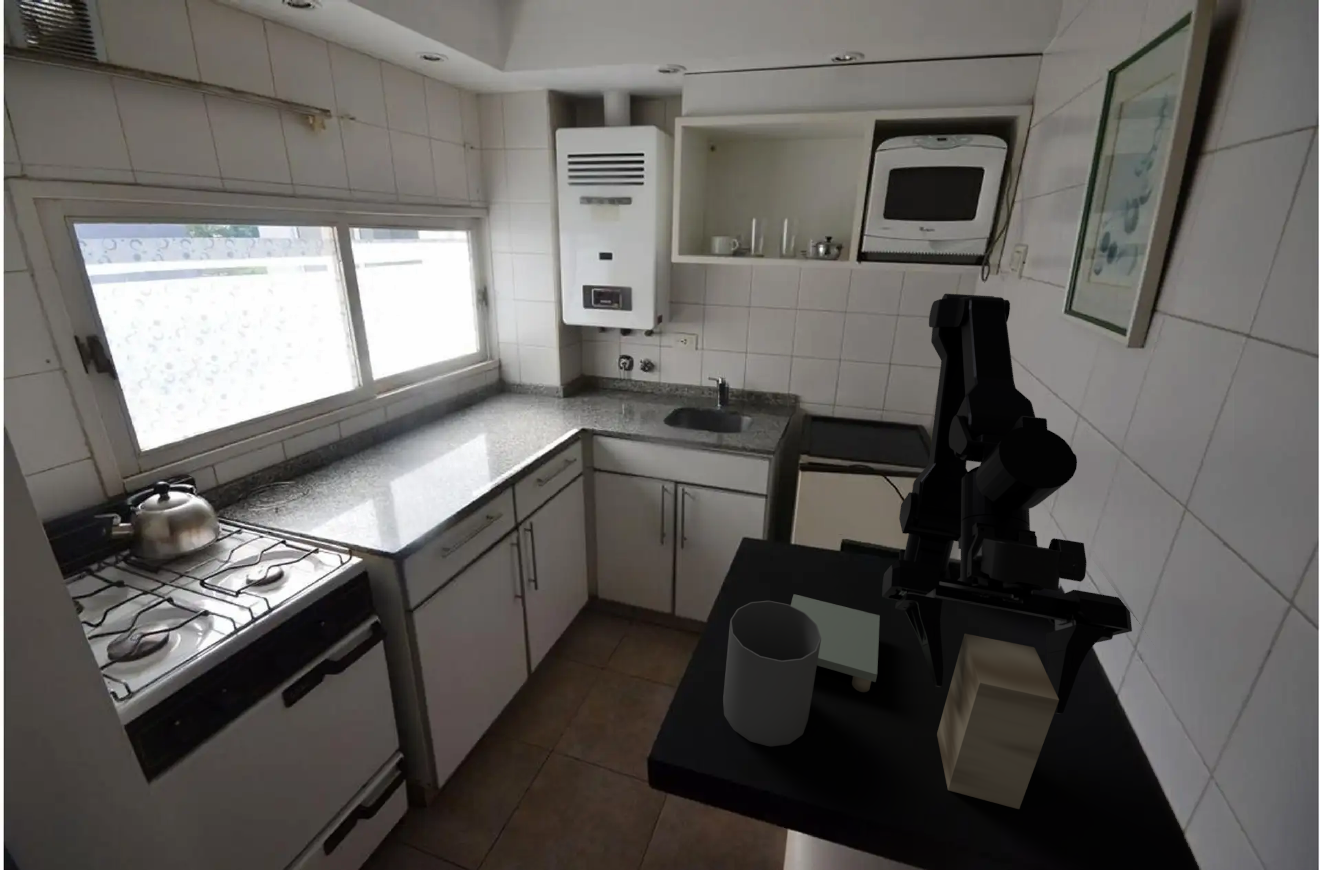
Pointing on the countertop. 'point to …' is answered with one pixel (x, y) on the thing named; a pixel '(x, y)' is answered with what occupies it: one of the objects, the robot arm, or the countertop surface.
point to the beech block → (995, 720)
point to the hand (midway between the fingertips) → (996, 699)
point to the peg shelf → (845, 639)
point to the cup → (770, 672)
